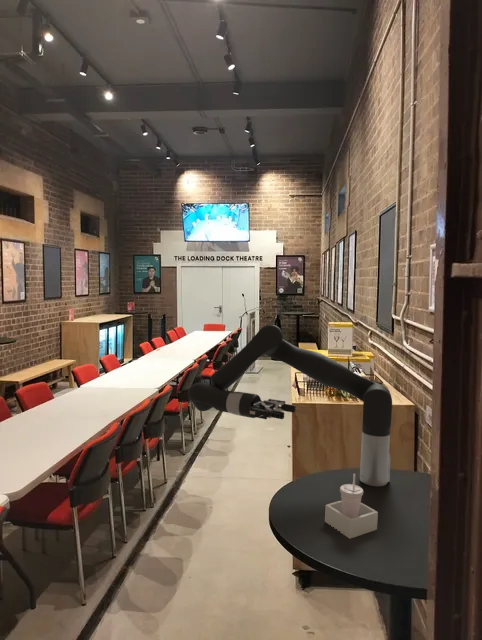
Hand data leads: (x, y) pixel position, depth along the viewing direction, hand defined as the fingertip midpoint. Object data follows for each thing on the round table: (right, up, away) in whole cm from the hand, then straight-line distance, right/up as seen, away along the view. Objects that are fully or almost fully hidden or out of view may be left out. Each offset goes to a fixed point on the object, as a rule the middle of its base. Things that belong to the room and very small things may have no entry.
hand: (289, 412), depth 144 cm
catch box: (+16, -29, -12) cm, 36 cm away
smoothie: (+16, -29, -12) cm, 35 cm away
